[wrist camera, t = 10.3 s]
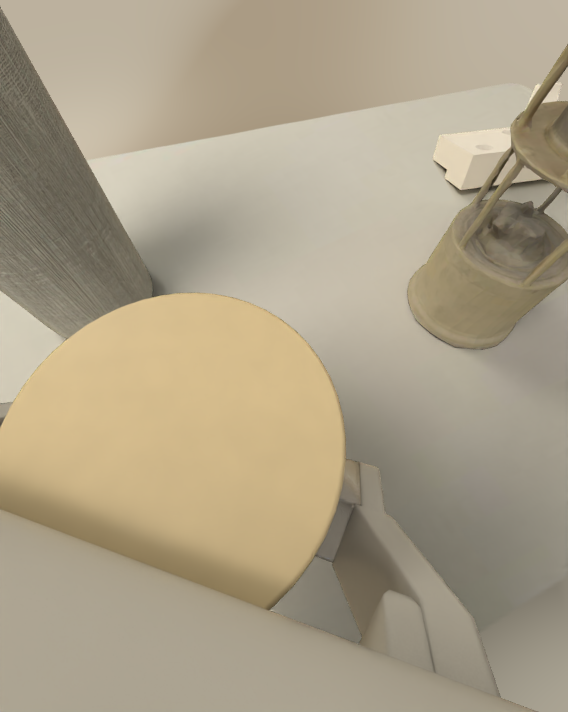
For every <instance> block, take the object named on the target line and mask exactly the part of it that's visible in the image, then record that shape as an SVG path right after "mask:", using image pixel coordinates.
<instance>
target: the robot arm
mask: <svg viewBox="0 0 568 712" xmlns="http://www.w3.org/2000/svg"><path fill="white" fill-rule="evenodd" d="M12 403H13V402H8V403H0V427H1V425H2V423H3V421H4V419H5V417H6V415H7V413H8V410H9V408H10V406H11V405H12ZM315 556H316V557H319V558H321V559H324V560H326V561H329V562H332V566H333V568H334V571H335V573H336V575H337V578H338V580H339V583H340V585H341V588H342V590H343V592H344V595H345V597H346V600H347V602H348V604H349V607H350V609H351V612H352V614H353V617H354V619H355V621H356V624H357V626H358V629H359V631H360V634H361V636H362V639H361V641H360V643H359V644H357V643H354V642H351V641H349V640H346V639H343V638H341V637H338V636H335V635H333V634H330V633H328V632H325V631H322V630H320V629H317V628H314V627H312V626H309V625H306V624H304V623H301V622H298V621H296V620H293V619H290V618H288V617H285V616H282V615H280V614H277V613H275V612H272V611H269V610H267V609H264V608H261V607H259V606H256V605H253V604H251V603H248V602H245V601H243V600H240V599H237V598H235V597H232V596H230V595H227V594H224V593H222V592H219V591H216V590H214V589H211V588H208V587H206V586H203V585H200V584H198V583H195V582H192V581H190V580H187V579H184V578H182V577H179V576H177V575H174V574H171V573H169V572H166V571H163V570H161V569H158V568H155V567H153V566H150V565H147V564H145V563H142V562H139V561H137V560H134V559H131V558H129V557H126V556H123V555H121V554H118V553H116V552H113V551H110V550H108V549H105V548H102V547H100V546H97V545H94V544H92V543H89V542H86V541H84V540H81V539H78V538H76V537H73V536H70V535H68V534H65V533H63V532H60V531H57V530H55V529H52V528H49V527H47V526H44V525H41V524H39V523H36V522H33V521H31V520H28V519H25V518H23V517H20V516H17V515H15V514H12V513H10V512H7V511H4V510H2V509H0V712H537V711H534V710H531V709H529V708H526V707H524V706H521V705H518V704H515V703H513V702H510V701H508V700H505V699H502V698H501V697H500V693H499V690H498V688H497V685H496V682H495V679H494V676H493V673H492V670H491V667H490V664H489V661H488V659H487V655H486V652H485V649H484V646H483V643H482V640H481V638H480V635H479V632H478V629H477V626H476V623H475V620H474V617H473V616H472V615H471V614H470V612H469V611H468V610H467V609H466V608H465V606H464V605H463V604H462V603H461V601H460V600H459V599H458V598H457V596H456V595H455V594H454V593H453V591H452V590H451V589H450V588H449V586H448V585H447V584H446V583H445V582H444V580H443V579H442V578H441V577H440V575H439V574H438V573H437V572H436V570H435V569H434V568H433V567H432V565H431V564H430V563H429V562H428V560H427V559H426V558H425V557H424V556H423V554H422V553H421V552H420V551H419V549H418V548H417V547H416V546H415V544H414V543H413V542H412V541H411V539H410V538H409V537H408V536H407V534H406V533H405V532H404V531H403V530H402V528H401V527H400V526H399V525H398V523H397V522H396V521H395V520H394V518H393V517H392V516H390V515H387V514H385V507H384V500H383V493H382V486H381V479H380V472H379V469H378V467H375V466H372V465H368V464H364V463H361V462H356V461H353V460H349V459H346V464H345V471H344V479H343V486H342V490H341V494H340V498H339V502H338V505H337V509H336V512H335V515H334V517H333V520H332V522H331V525H330V527H329V530H328V532H327V535H326V537H325V539H324V541H323V542H322V544H321V546H320V548H319V550H318V551H317V553H316V555H315Z"/></svg>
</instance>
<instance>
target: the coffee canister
mask: <svg viewBox="0 0 568 712" xmlns="http://www.w3.org/2000/svg"><path fill="white" fill-rule="evenodd" d="M345 464H346V435H345V428H344V420H343V414H342V410H341V406H340V402H339V399H338V395H337V393H336V390H335V388H334V385H333V383H332V380H331V378H330V376H329V374H328V372H327V370H326V369H325V367H324V365H323V363H322V362H321V360H320V358H319V357H318V356H317V354H316V353H315V352H314V350H313V349H312V348H311V346H310V345H309V344H308V343H307V342H306V341H305V340H304V339H303V338H302V337H301V336H300V335H299V334H298V333H297V332H296V331H295V330H294V329H293V328H291V327H290V326H289V325H288V324H286V323H285V322H284V321H283V320H281V319H280V318H278V317H276V316H275V315H273V314H271V313H270V312H268V311H267V310H265V309H262V308H260V307H258V306H256V305H253V304H251V303H249V302H245V301H242V300H239V299H236V298H233V297H227V296H222V295H217V294H207V293H176V294H169V295H161V296H156V297H152V298H148V299H144V300H140V301H137V302H134V303H131V304H128V305H125V306H123V307H120V308H118V309H116V310H114V311H112V312H109V313H107V314H105V315H103V316H101V317H100V318H98V319H96V320H94V321H93V322H91V323H89V324H88V325H86V326H85V327H83V328H82V329H80V330H79V331H78V332H76V333H75V334H73V335H72V336H70V337H69V338H68V339H67V340H66V341H64V342H63V343H62V344H61V345H60V346H59V347H58V348H56V349H55V350H54V351H53V352H52V353H51V354H50V355H49V356H48V357H47V358H46V359H45V360H44V361H43V362H42V364H41V365H40V366H39V367H38V368H37V369H36V370H35V371H34V373H33V374H32V375H31V377H30V378H29V379H28V381H27V382H26V383H25V384H24V386H23V387H22V389H21V390H20V392H19V394H18V395H17V397H16V398H15V400H14V402H13V403H12V405H11V406H10V408H9V410H8V413H7V415H6V417H5V419H4V421H3V423H2V425H1V427H0V509H2V510H4V511H7V512H10V513H12V514H15V515H17V516H20V517H23V518H25V519H28V520H31V521H33V522H36V523H39V524H41V525H44V526H47V527H49V528H52V529H55V530H57V531H60V532H63V533H65V534H68V535H70V536H73V537H76V538H78V539H81V540H84V541H86V542H89V543H92V544H94V545H97V546H100V547H102V548H105V549H108V550H110V551H113V552H116V553H118V554H121V555H123V556H126V557H129V558H131V559H134V560H137V561H139V562H142V563H145V564H147V565H150V566H153V567H155V568H158V569H161V570H163V571H166V572H169V573H171V574H174V575H177V576H179V577H182V578H184V579H187V580H190V581H192V582H195V583H198V584H200V585H203V586H206V587H208V588H211V589H214V590H216V591H219V592H222V593H224V594H227V595H230V596H232V597H235V598H237V599H240V600H243V601H245V602H248V603H251V604H253V605H256V606H259V607H261V608H264V609H267V610H270V609H271V608H272V607H274V606H275V604H276V603H277V602H278V601H279V600H280V599H281V598H282V597H283V596H284V595H285V594H286V593H287V592H288V591H289V590H290V589H291V588H292V587H293V586H294V585H295V583H296V582H297V581H298V579H299V578H300V577H301V575H302V574H303V573H304V571H305V570H306V569H307V567H308V566H309V565H310V563H311V562H312V560H313V558H314V557H315V555H316V553H317V551H318V550H319V548H320V546H321V544H322V542H323V541H324V539H325V537H326V535H327V532H328V530H329V527H330V525H331V522H332V520H333V517H334V515H335V512H336V509H337V505H338V502H339V498H340V494H341V490H342V486H343V479H344V471H345Z"/></svg>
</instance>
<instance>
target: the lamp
mask: <svg viewBox="0 0 568 712" xmlns="http://www.w3.org/2000/svg"><path fill="white" fill-rule="evenodd" d="M567 67H568V45H567V46H566V48H565V49H564V51H563V52H562V54H561V55H560V57H559V58H558V60H557V61H556V63H555V64H554V66H553V68H552V69H551V71H550V72H549V74H548V75H547V77H546V79H545V80H544V82H543V83H542V85H541V86H540V88H539V89H538V91H537V92H536V94H535V95H534V97H533V98H532V100H531V101H530V103H529V104H528V106H527V108H526V110H525V111H523V112H522V113H520V114H519V115H518V116H517V118H516V119H515V120H514V122H513V123H512V124H511V127H510V132H511V147H510V148H509V149H508V150H507V151H506V152H505V153H504V154H503V156H502V157H501V158H500V160H499V161H498V163H497V165H496V167H495V168H494V170H493V171H492V173H491V174H490V176H489V177H488V179H487V180H486V182H485V183H484V185H483V186H482V188H481V189H480V191H479V192H478V194H477V196H476V197H475V199H474V200H473V202H472V203H471V204H470V205H468V206H467V207H465V208H463V209H462V210H460V212H459V213H458V214H457V215H456V217H455V218H454V220H453V221H452V223H451V225H450V226H449V228H448V230H447V231H446V233H445V234H444V236H443V237H442V239H441V240H440V242H439V244H438V245H437V247H436V248H435V250H434V252H433V253H432V255H431V256H430V258H429V260H428V261H427V263H426V264H425V265H423V266H422V267H421V268H420V269H419V270H418V271H417V272H415V274H414V275H413V277H412V278H411V280H410V282H409V286H408V290H407V293H408V301H409V305H410V308H411V310H412V312H413V315H414V317H415V319H416V321H417V322H419V323H420V324H421V325H422V326H423V327H424V328H426V329H427V330H428V331H429V332H430V333H432V334H433V335H435V336H436V337H437V338H439V339H441V340H443V341H445V342H447V343H448V344H450V345H452V346H454V347H460V348H471V349H482V350H483V349H486V348H490V347H494V346H497V345H498V344H499V343H500V342H501V341H503V340H504V339H505V338H506V337H507V336H508V334H509V333H510V332H511V331H512V329H513V328H514V326H515V324H516V322H517V321H518V320H519V319H520V318H522V317H523V316H524V315H525V314H526V313H527V312H529V311H530V310H531V309H532V308H533V307H534V306H536V305H537V304H538V303H539V302H540V301H542V300H543V299H544V298H545V297H546V296H548V295H549V294H550V293H551V292H552V291H554V290H555V289H556V288H557V287H559V286H560V285H561V284H563V283H564V282H565V281H566V280H567V279H568V234H567V233H566V231H565V230H564V229H563V228H562V226H560V225H559V224H558V223H557V222H556V221H555V220H553V219H552V218H551V217H549V216H548V215H546V214H545V213H544V210H545V209H546V208H547V207H548V206H549V204H550V203H551V202H552V201H553V200H554V199H555V198H556V196H557V195H558V194H559V193H560V192H561V190H564V191H565V192H566V193H568V102H567V101H555V102H547V103H542V102H543V100H544V99H545V97H546V96H547V95H548V93H549V92H550V90H551V89H552V88H553V86H554V85H555V83H556V82H557V81H558V79H559V78H560V76H561V75H562V74H563V72H564V71H565V69H566V68H567ZM517 120H518V121H517ZM513 153H515V156H516V164H515V165H514V166H513V167H512V168H511V170H510V171H509V172H508V174H507V175H506V176H505V178H504V179H503V181H502V182H501V184H500V185H499V186H498V188H497V189H496V191H495V192H494V193H493V195H492V196H491V198H490V199H489V200H482V199H483V198H484V197H485V195H486V194H487V193H488V191H489V190H490V188H491V187H492V186H493V184H494V183H495V181H496V180H497V177H498V176H499V174H500V172H501V171H502V169H503V167H504V166H505V164H506V162H507V161H509V157H510V156H511V155H512V154H513ZM524 166H526V168H528V169H530V170H531V171H533V172H534V173H535V174H536V175H538V176H539V177H541V178H542V179H544V180H547V181H549V182H550V183H552V184H554V186H555V187H557V188H556V189H555V190H554V192H553V193H552V194H551V195H550V196H549V197H548V199H547V200H546V201H545V202H544V203H543V204H542V205H541V206H540V207H538V208H536V209H535V208H534V207H533V202H532V201H529V202H526V203H523V204H522V203H518V202H513V201H508V200H499V198H500V197H501V196H502V194H503V193H504V192H505V191H506V189H507V188H508V187H510V185H512V181H513V180H514V179H515V178H516V177H517V176H518V174H519V173H520V171H521V170H522V168H524Z"/></svg>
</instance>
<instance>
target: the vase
mask: <svg viewBox="0 0 568 712" xmlns="http://www.w3.org/2000/svg"><path fill="white" fill-rule="evenodd" d="M0 290H1V291H2V292H3V293H5V294H6V295H7V296H8V297H10V298H11V299H12V300H14V301H15V302H16V303H18V304H19V305H20V306H21V307H23V308H24V309H25V310H27V311H28V312H29V313H30V314H32V315H33V316H34V317H36V318H37V319H38V320H40V321H41V322H42V323H43V324H45V325H46V326H47V327H49V328H50V329H52V330H53V331H55V332H56V333H58V334H59V335H61V336H63V337H65V338H67V339H68V338H69V337H70V336H72V335H73V334H75V333H76V332H78V331H79V330H80V329H82V328H83V327H85V326H86V325H88V324H89V323H91V322H93V321H94V320H96V319H98V318H100V317H101V316H103V315H105V314H107V313H109V312H112V311H114V310H116V309H118V308H120V307H123V306H125V305H128V304H131V303H134V302H137V301H140V300H144V299H148V298H152V294H153V285H152V281H151V278H150V276H149V273H148V271H147V269H146V267H145V265H144V263H143V262H142V260H141V258H140V256H139V254H138V253H137V251H136V249H135V247H134V245H133V244H132V242H131V240H130V238H129V236H128V235H127V233H126V231H125V229H124V228H123V226H122V224H121V222H120V220H119V219H118V217H117V215H116V213H115V211H114V210H113V208H112V206H111V204H110V202H109V201H108V199H107V197H106V195H105V193H104V192H103V190H102V188H101V186H100V185H99V183H98V181H97V179H96V177H95V176H94V174H93V172H92V170H91V168H90V167H89V165H88V163H87V161H86V159H85V158H84V156H83V154H82V152H81V150H80V149H79V147H78V145H77V143H76V142H75V140H74V138H73V136H72V134H71V133H70V131H69V129H68V127H67V125H66V124H65V122H64V120H63V118H62V117H61V115H60V113H59V111H58V109H57V107H56V106H55V104H54V102H53V100H52V99H51V97H50V95H49V93H48V91H47V90H46V88H45V86H44V84H43V83H42V81H41V79H40V77H39V75H38V73H37V72H36V70H35V68H34V66H33V65H32V63H31V61H30V59H29V57H28V56H27V54H26V52H25V50H24V48H23V47H22V45H21V43H20V41H19V40H18V38H17V36H16V34H15V33H14V30H13V29H12V27H11V25H10V23H9V21H8V20H7V18H6V16H5V14H4V13H3V11H2V9H1V7H0Z"/></svg>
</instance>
